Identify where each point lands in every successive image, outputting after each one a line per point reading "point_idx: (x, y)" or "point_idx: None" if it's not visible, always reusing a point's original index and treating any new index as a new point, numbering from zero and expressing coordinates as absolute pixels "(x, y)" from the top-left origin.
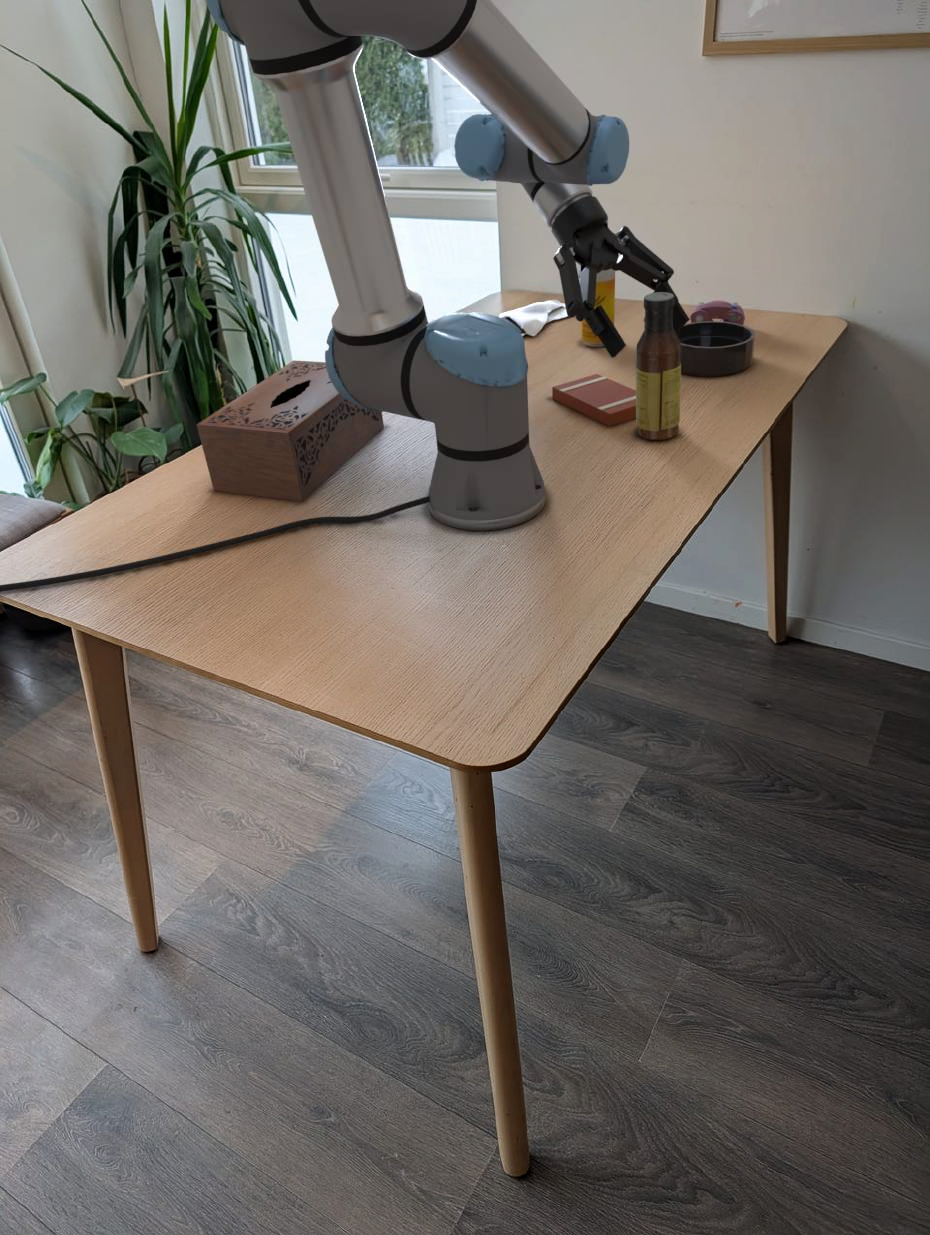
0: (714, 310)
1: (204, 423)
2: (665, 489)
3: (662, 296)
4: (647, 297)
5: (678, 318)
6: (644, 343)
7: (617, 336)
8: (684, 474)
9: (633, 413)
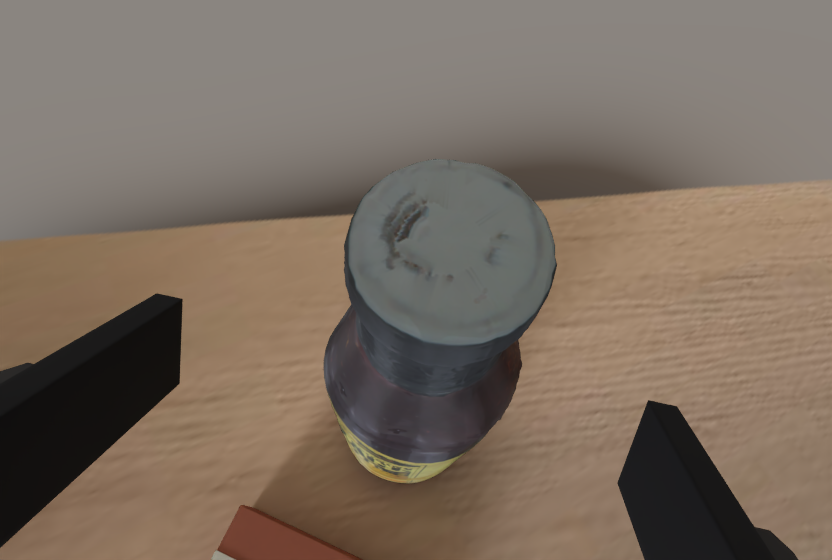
0: None
1: None
2: (659, 274)
3: (455, 216)
4: (509, 303)
5: (158, 346)
6: (504, 375)
7: (690, 441)
8: (575, 269)
9: (332, 546)
